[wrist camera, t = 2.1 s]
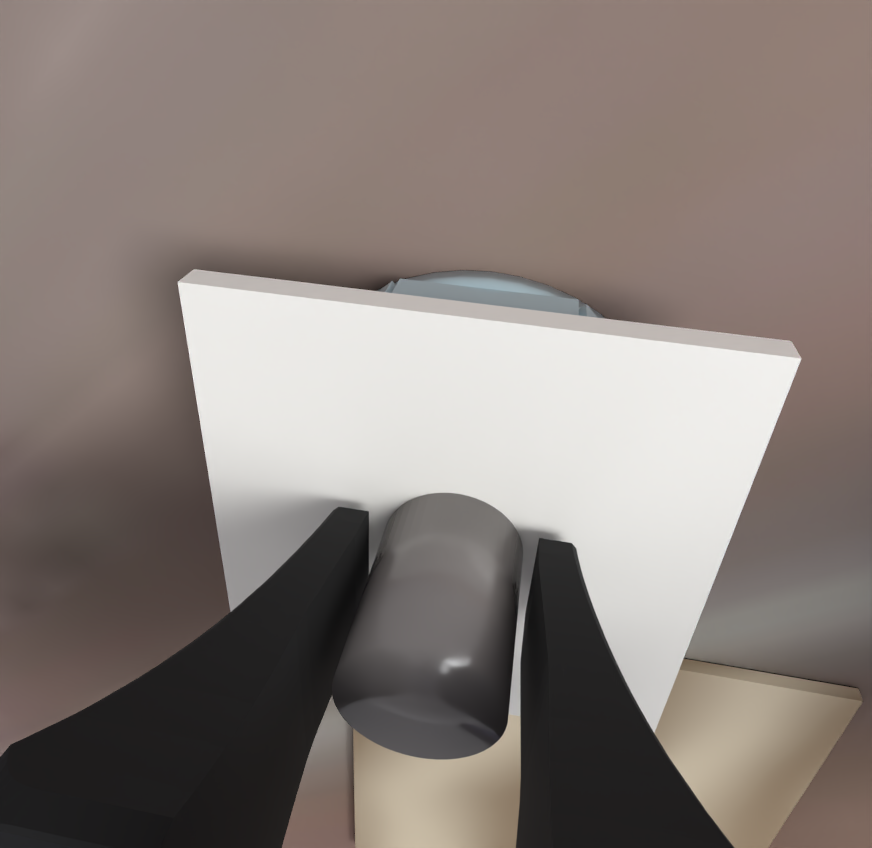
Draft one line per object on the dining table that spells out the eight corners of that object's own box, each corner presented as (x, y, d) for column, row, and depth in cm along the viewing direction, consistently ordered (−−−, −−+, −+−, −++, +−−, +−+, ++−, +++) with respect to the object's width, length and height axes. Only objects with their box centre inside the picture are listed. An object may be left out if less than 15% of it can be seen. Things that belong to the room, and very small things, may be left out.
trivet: (858, 688, 19) (863, 701, 18) (714, 915, 26) (716, 927, 26) (354, 602, 20) (351, 612, 20) (358, 840, 28) (355, 851, 28)
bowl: (720, 297, 14) (748, 364, 11) (625, 609, 19) (632, 700, 16) (280, 247, 15) (224, 299, 12) (302, 556, 20) (265, 634, 17)
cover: (791, 340, 11) (889, 511, 8) (649, 717, 17) (668, 915, 13) (193, 269, 12) (39, 389, 9) (248, 645, 18) (167, 810, 14)
